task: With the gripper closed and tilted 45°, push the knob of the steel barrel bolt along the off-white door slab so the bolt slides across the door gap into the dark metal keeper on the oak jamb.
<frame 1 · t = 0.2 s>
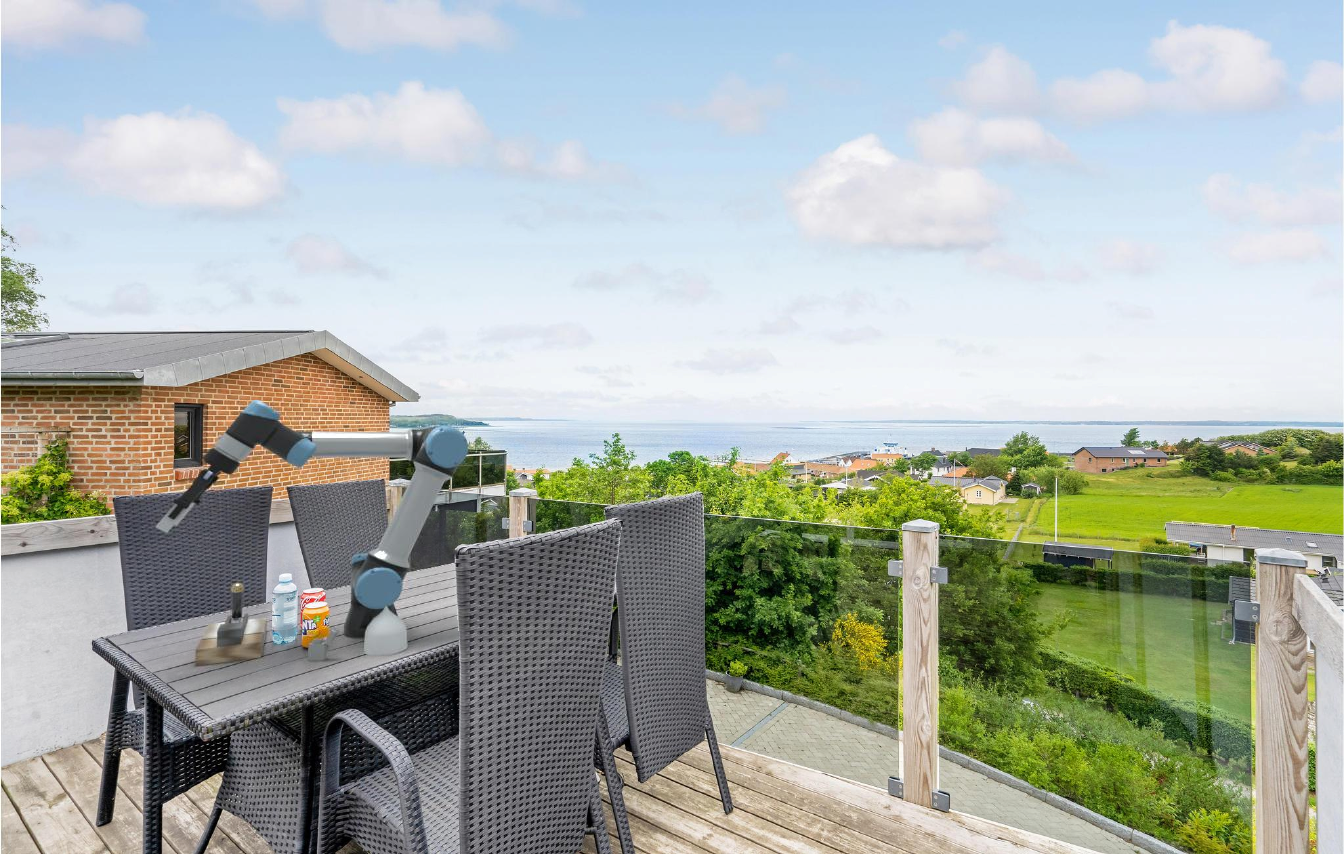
hand: (166, 526, 161), 36 cm above the table, tool tilted 35°, fingers open, 13 cm apart
lighter: (323, 660, 171), on the table
teardrop: (385, 649, 180), on the table, touching arm
bolt: (235, 606, 183), point 10 cm above the table, slide at 0.0 cm
door and jamb: (232, 649, 178), on the table
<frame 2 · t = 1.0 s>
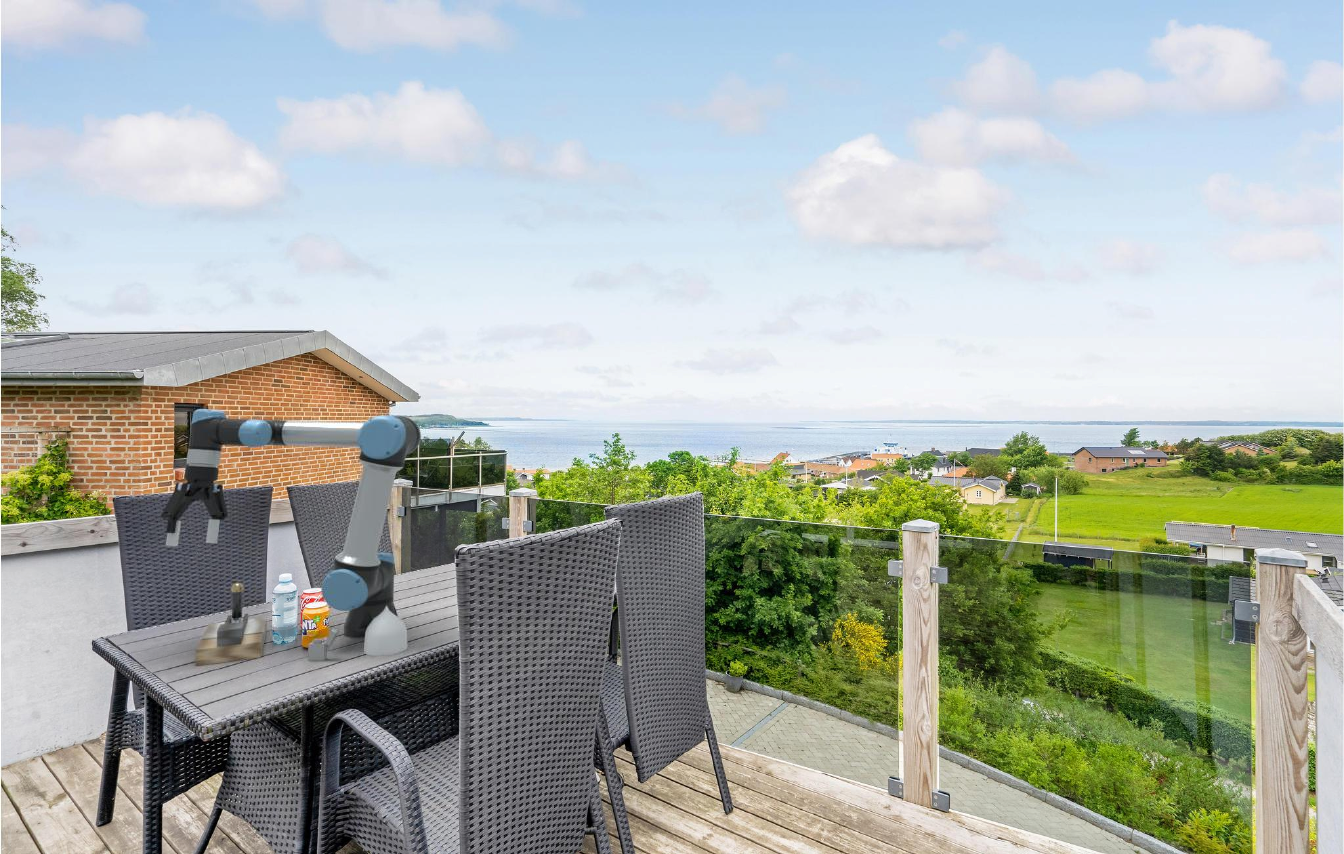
hand: (192, 544, 178), 28 cm above the table, tool pointing down, fingers open, 13 cm apart
teardrop: (385, 649, 180), on the table
everything else where it was.
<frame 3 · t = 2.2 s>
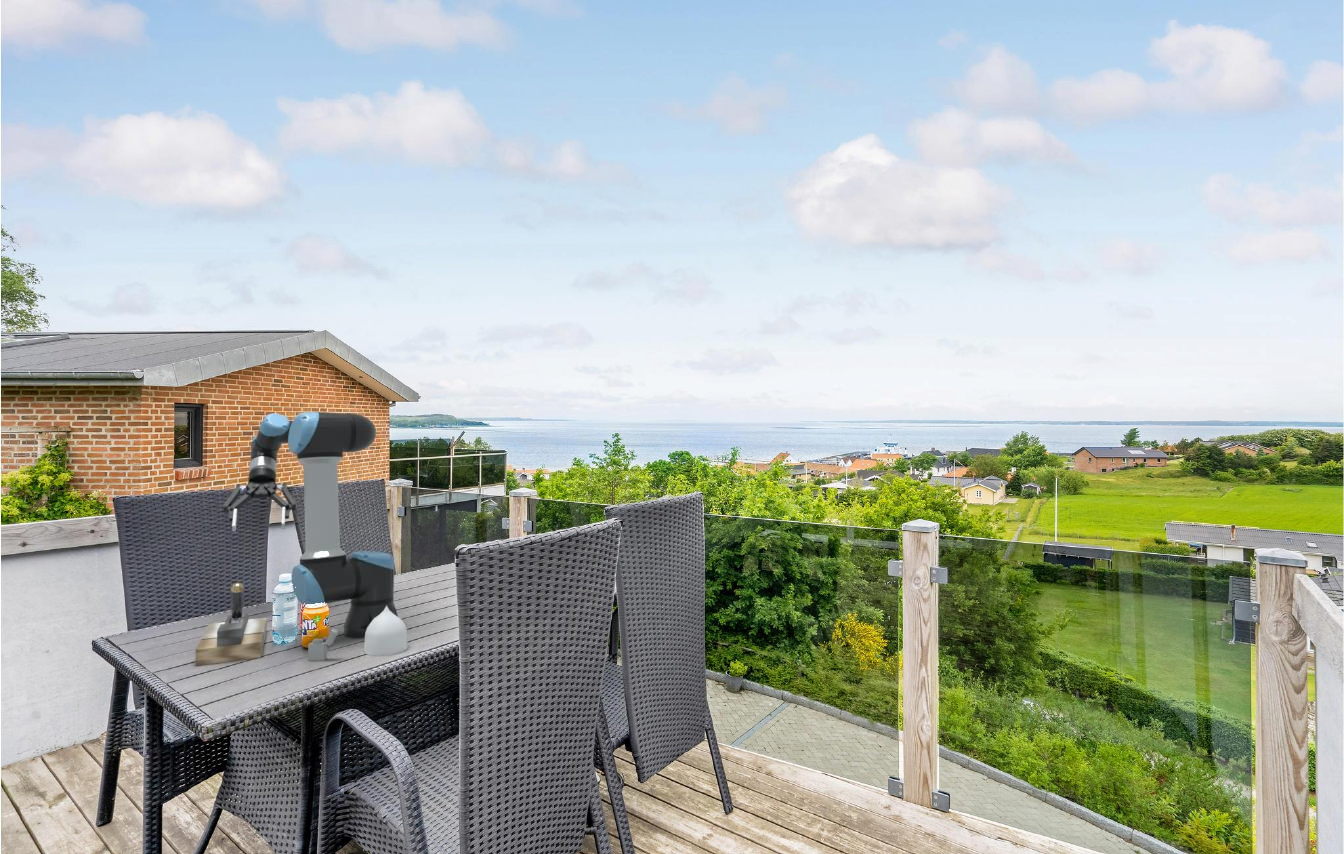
hand: (258, 527, 201), 29 cm above the table, tool tilted 45°, fingers open, 12 cm apart
nothing on the table moved.
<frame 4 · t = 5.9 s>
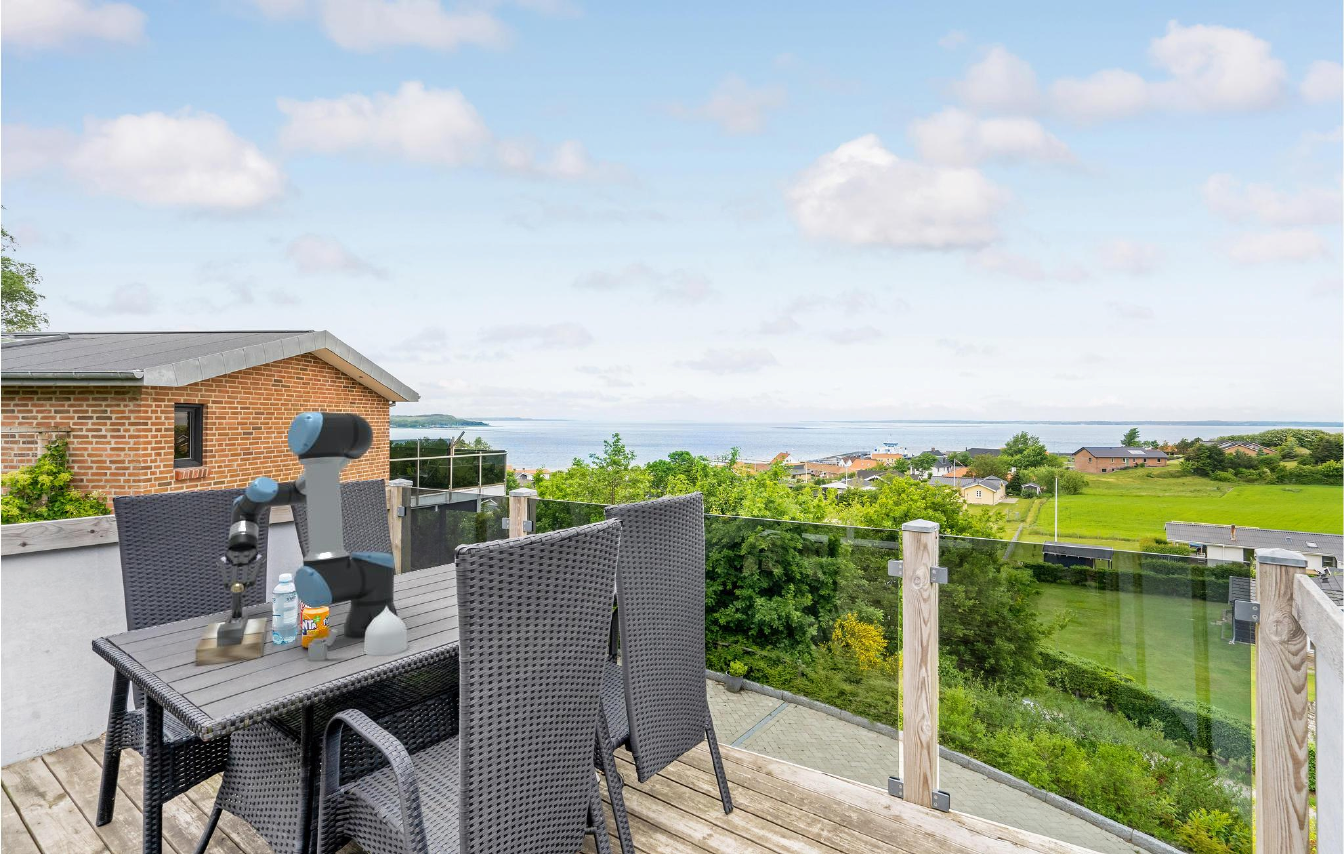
hand: (236, 606, 188), 9 cm above the table, tool tilted 45°, fingers closed
bolt: (235, 606, 183), point 10 cm above the table, slide at 0.0 cm, touching gripper
everything else where it was.
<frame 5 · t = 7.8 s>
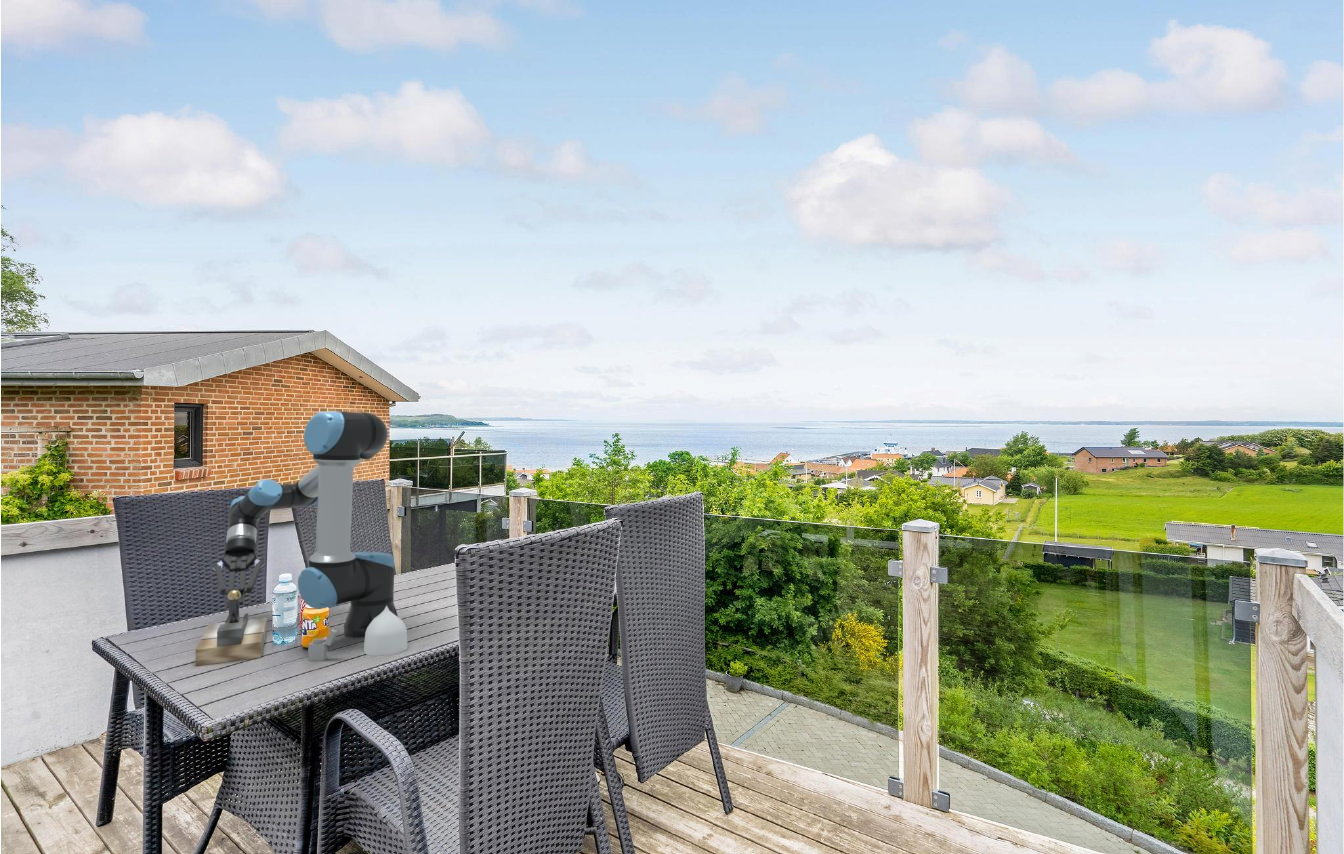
hand: (233, 614, 181), 9 cm above the table, tool tilted 45°, fingers closed
bolt: (232, 614, 175), point 10 cm above the table, slide at 8.8 cm, touching gripper
everything else where it was.
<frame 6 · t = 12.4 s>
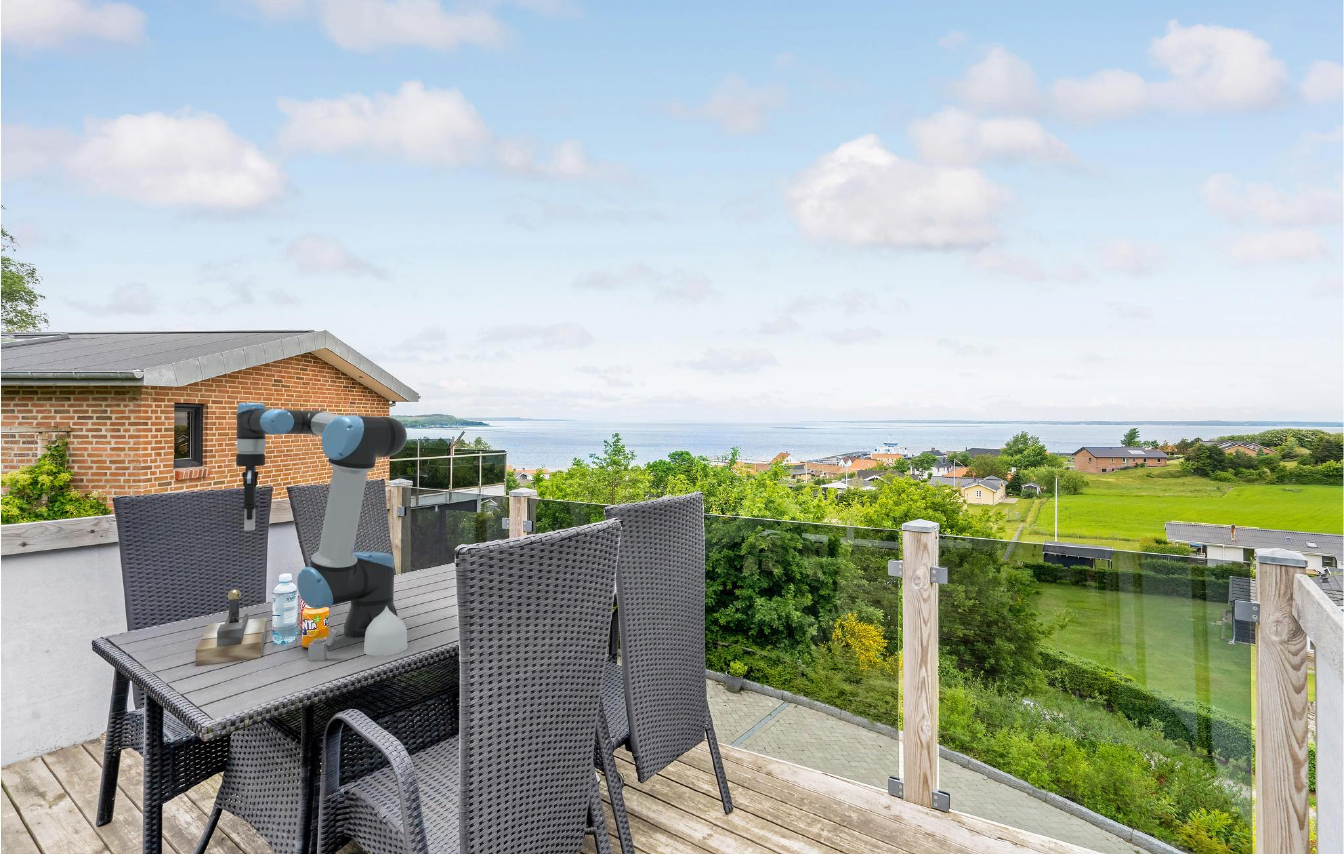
hand: (249, 529, 202), 28 cm above the table, tool pointing down, fingers closed
bolt: (232, 614, 175), point 10 cm above the table, slide at 8.5 cm
everything else where it was.
at the end: bolt slide at 8.5 cm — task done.
